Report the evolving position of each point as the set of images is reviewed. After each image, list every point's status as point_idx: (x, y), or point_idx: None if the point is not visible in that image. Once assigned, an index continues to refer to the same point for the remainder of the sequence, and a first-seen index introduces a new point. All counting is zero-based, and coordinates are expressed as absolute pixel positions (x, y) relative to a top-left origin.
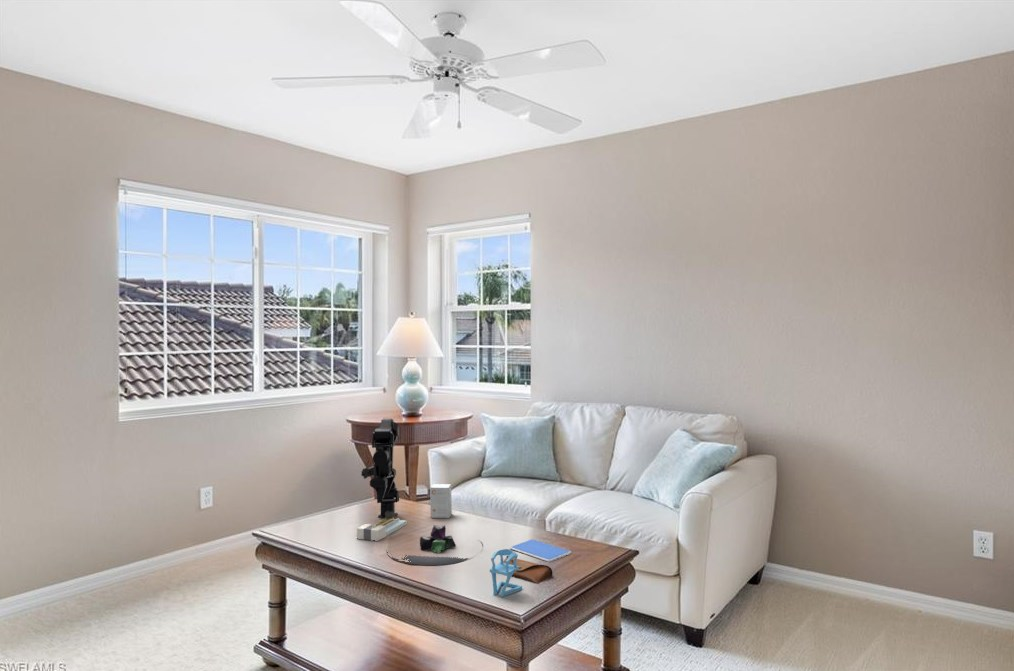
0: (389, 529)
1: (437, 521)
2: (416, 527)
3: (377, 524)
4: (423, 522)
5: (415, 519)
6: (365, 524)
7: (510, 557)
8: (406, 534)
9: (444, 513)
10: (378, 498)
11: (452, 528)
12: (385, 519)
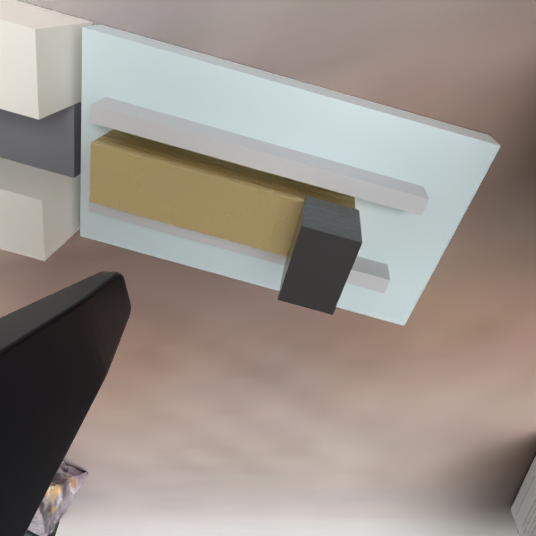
0: (147, 245)
1: (447, 462)
2: (316, 373)
3: (92, 164)
4: (435, 399)
5: (532, 347)
6: (10, 37)
7: None
8: (161, 337)
9: (527, 521)
10: (53, 296)
11: (301, 515)
12: (252, 208)
